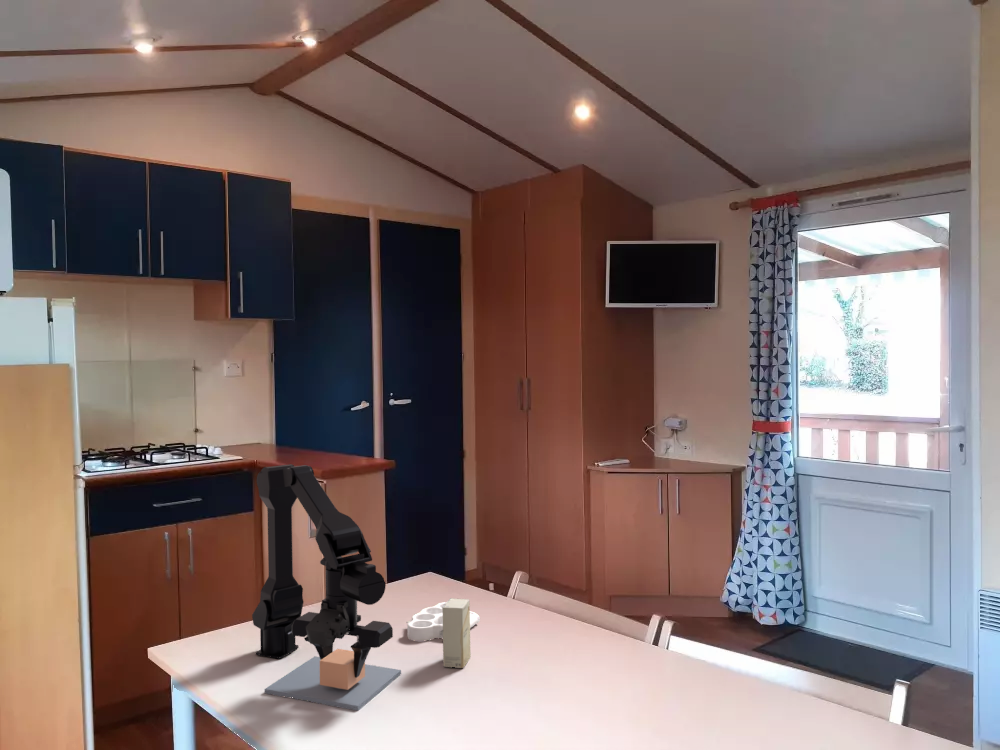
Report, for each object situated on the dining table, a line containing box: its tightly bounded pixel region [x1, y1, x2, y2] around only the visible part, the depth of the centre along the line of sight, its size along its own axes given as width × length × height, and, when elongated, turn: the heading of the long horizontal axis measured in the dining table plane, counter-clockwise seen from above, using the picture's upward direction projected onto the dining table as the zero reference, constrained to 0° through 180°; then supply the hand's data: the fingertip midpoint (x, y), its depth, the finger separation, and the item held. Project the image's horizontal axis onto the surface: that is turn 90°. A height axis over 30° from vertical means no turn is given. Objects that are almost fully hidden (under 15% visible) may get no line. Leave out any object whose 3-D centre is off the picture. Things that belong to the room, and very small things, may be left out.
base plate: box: [264, 655, 402, 711], centre depth 142 cm, size 20×16×4 cm
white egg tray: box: [406, 601, 481, 642], centre depth 171 cm, size 3×18×15 cm
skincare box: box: [442, 598, 472, 669], centre depth 152 cm, size 6×4×12 cm
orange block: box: [320, 648, 366, 690], centre depth 139 cm, size 6×6×4 cm
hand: (342, 674), depth 139 cm, fingers closed on orange block, 6 cm apart
